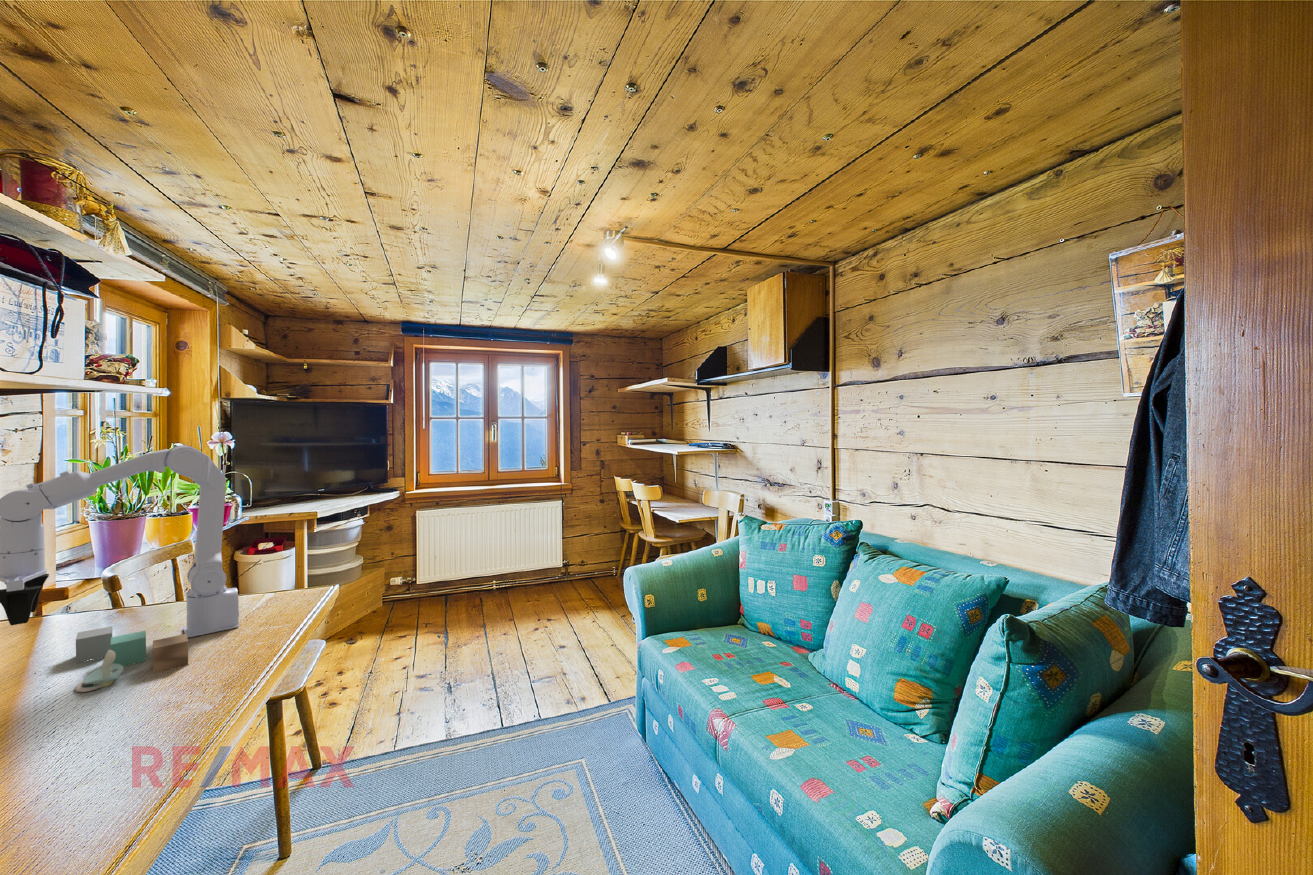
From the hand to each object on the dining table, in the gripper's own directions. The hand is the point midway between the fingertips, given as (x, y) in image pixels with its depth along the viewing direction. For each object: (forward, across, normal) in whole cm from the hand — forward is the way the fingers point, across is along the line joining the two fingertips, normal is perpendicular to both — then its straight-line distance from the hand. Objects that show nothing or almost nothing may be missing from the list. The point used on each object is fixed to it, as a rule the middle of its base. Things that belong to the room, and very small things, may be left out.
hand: (23, 617), depth 102 cm
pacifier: (+10, +19, +11) cm, 24 cm away
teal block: (+10, +9, +15) cm, 20 cm away
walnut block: (+10, +17, +21) cm, 29 cm away
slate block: (+10, +1, +10) cm, 14 cm away
